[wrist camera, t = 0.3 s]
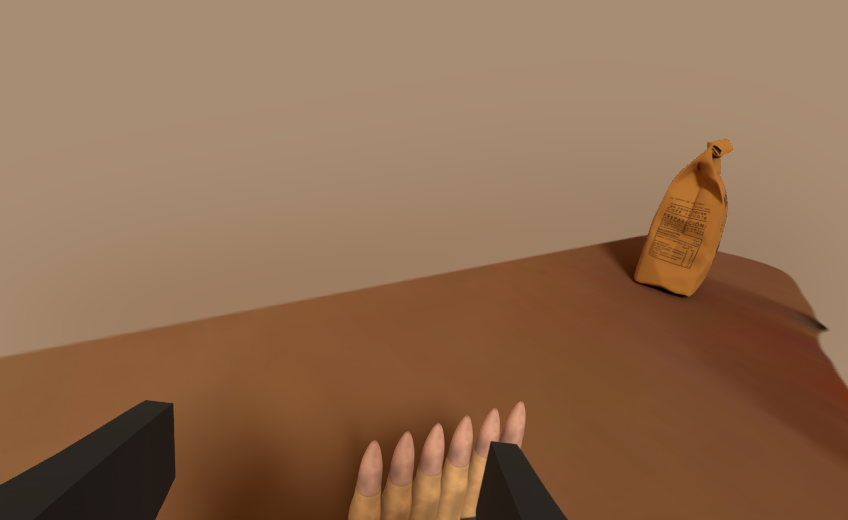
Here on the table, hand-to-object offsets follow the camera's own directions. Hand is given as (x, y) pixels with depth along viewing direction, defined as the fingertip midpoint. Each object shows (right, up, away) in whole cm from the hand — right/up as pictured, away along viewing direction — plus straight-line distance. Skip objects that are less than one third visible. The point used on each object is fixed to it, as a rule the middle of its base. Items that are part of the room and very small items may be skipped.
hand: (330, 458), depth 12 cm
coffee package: (+40, +1, +70) cm, 81 cm away
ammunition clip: (+2, -15, +20) cm, 25 cm away
